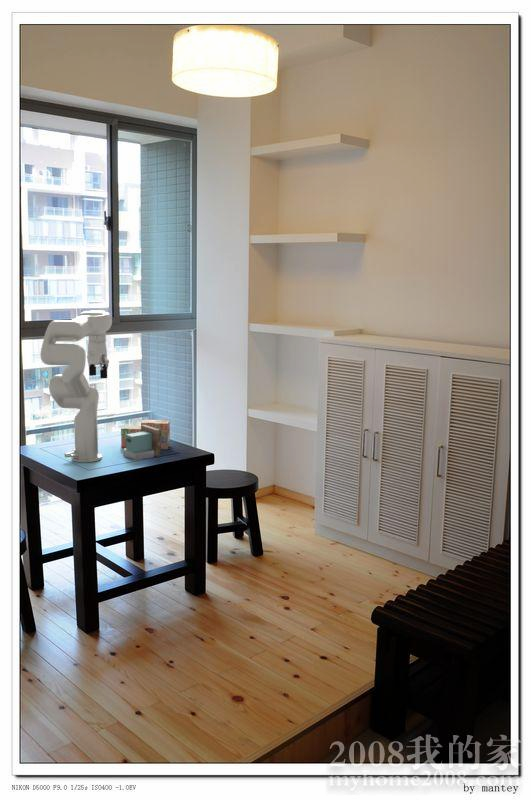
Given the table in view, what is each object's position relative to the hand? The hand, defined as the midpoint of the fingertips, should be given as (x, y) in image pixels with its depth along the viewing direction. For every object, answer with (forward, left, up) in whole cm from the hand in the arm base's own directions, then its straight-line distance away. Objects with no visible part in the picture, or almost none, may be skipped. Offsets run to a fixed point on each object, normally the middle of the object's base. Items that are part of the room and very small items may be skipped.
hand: (98, 376), depth 336 cm
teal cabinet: (+5, -25, -29) cm, 39 cm away
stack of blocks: (+16, -14, -33) cm, 39 cm away
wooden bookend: (+6, -25, -32) cm, 41 cm away
